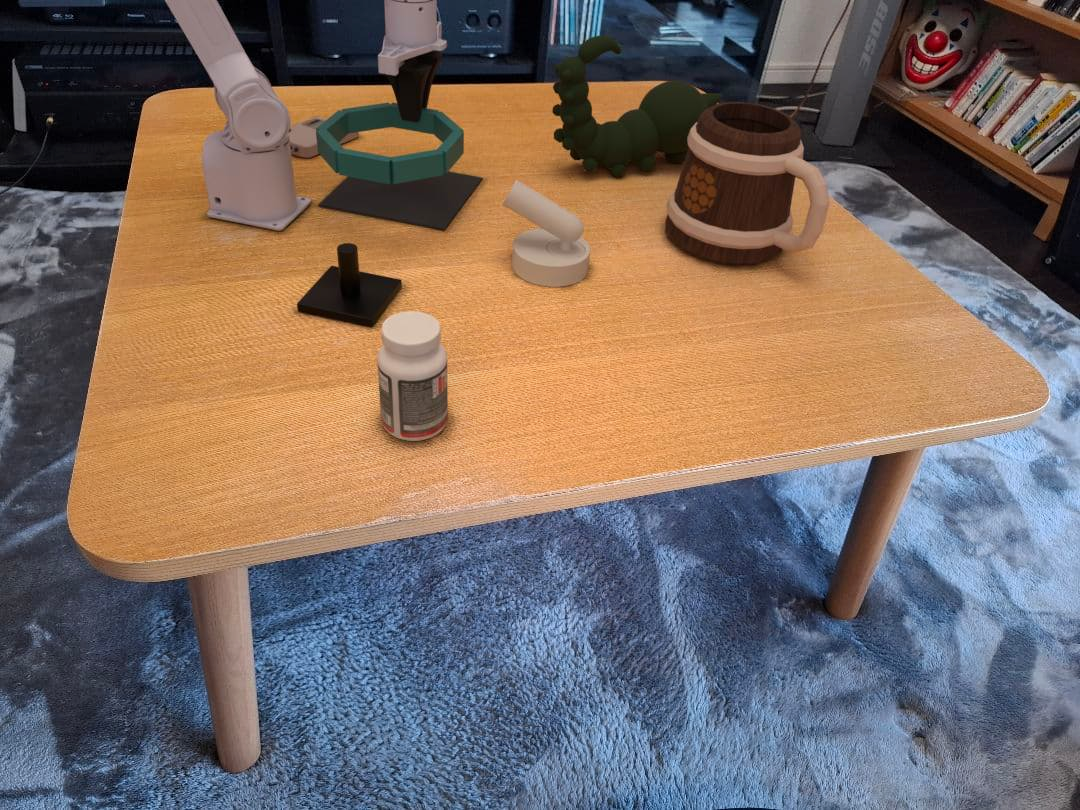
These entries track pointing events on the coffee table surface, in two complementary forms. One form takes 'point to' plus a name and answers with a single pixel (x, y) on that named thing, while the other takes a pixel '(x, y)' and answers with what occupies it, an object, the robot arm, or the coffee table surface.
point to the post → (350, 291)
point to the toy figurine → (624, 117)
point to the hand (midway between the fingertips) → (413, 117)
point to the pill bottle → (412, 376)
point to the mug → (743, 187)
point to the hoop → (384, 166)
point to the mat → (405, 199)
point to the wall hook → (547, 240)
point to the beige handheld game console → (309, 137)
